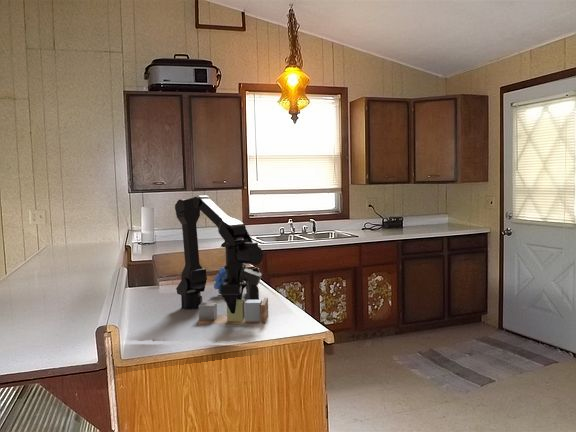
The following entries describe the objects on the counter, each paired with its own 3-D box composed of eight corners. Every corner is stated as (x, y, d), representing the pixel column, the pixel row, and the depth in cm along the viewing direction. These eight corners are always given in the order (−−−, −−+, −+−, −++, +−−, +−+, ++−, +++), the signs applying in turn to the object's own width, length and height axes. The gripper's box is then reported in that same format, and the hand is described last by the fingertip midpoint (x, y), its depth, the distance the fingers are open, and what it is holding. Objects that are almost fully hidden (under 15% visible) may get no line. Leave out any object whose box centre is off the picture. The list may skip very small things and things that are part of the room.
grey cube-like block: (199, 321, 151) (198, 305, 151) (202, 317, 155) (201, 302, 155) (214, 321, 151) (213, 305, 150) (217, 317, 155) (216, 302, 154)
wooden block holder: (196, 326, 149) (195, 304, 148) (203, 318, 158) (202, 297, 157) (264, 326, 147) (264, 304, 146) (268, 318, 156) (268, 297, 155)
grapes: (238, 290, 197) (237, 262, 196) (243, 293, 190) (242, 264, 190) (211, 293, 192) (210, 264, 191) (215, 297, 186) (214, 267, 185)
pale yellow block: (227, 321, 150) (226, 302, 150) (229, 317, 154) (229, 299, 154) (242, 321, 150) (242, 302, 149) (244, 317, 154) (244, 299, 153)
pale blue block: (245, 321, 150) (244, 302, 149) (247, 317, 154) (246, 299, 153) (260, 321, 149) (260, 302, 149) (262, 317, 153) (261, 299, 153)
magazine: (259, 288, 160) (253, 251, 188) (249, 289, 160) (245, 251, 187) (259, 331, 166) (253, 288, 194) (250, 331, 166) (245, 289, 193)
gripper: (255, 267, 141) (256, 318, 142) (263, 256, 159) (264, 302, 160) (218, 267, 141) (220, 317, 143) (231, 257, 160) (232, 301, 161)
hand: (235, 309), depth 152 cm, fingers open, 9 cm apart
